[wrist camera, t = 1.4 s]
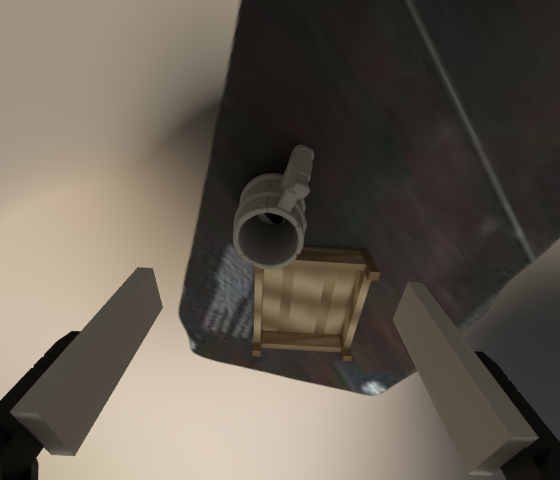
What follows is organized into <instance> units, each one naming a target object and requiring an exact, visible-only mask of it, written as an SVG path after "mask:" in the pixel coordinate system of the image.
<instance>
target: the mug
mask: <svg viewBox="0 0 560 480" xmlns="http://www.w3.org/2000/svg"><path fill="white" fill-rule="evenodd" d="M313 159H314V151H313V150H312V149H310V148H308V147H306V146H304V145H301V144H300V145H298V146H296V147H295V148H294V149H293V151H292V154H291V156H290V159H289V163H288V166H287V168H286V170H285V173H284V175H281V174H278V173H267V174H262V175H259V176H257V177H255V178H254V179H252V180H251V181H250V182H249V183H248V184H247V185H246V186H245V188H244V190H243V191H242V194H241V197H240V204H239V207H238V209H237V212H236V214H235V219H234V230H233V243H234V247H235V249H236V252H237V253H238V255H240V257H241V258H242V259H244V260H245V262H250V263H252V264H253V265H254V266H257V267H259V268H262V269H269V268H270V270H271V269H279V268H282V267H285V266H287V265H289V264H290V263H292V262H293V261H294V260H295V259H296V257H297V254H300V253H301V250H302V248H303V244H304V234H305V230H306V227H307V222H306V219H305V215H304V211H305V209H306V206H305V200H304V198H305V197H306V196H307V195H308V194H309V192H310V188H309V186H308V181H310V177H311V170H312V167H313V163H312V160H313ZM264 213H273V214H277V215H280V216H282V217H283V221H282V222H280V223H273V222H272V221H271V220H270V219H269V218H268V217H267V216H266V215H265V214H264ZM255 215H257V216H258V218H259V219H258V218H257V217H256V216H255Z"/></svg>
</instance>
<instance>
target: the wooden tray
mask: <svg viewBox="0 0 560 480" xmlns="http://www.w3.org/2000/svg"><path fill="white" fill-rule="evenodd" d="M254 273H255V298H254V344H253V356H261V348H276V349H293V350H311V351H328V352H341V356H342V360H343V361H351V358H352V354H351V351H350V345H351V342H352V339H353V336H354V333H355V330H356V326H357V323H358V320H359V317H360V314H361V311H362V308H363V305H364V301H365V298H366V295H367V292H368V289H369V286H370V283H371V280H376V281H378V278H379V275H380V271H379V270H378V268H377V266H376V264H375V263H374V261H373V259H372V257H371V255H370V254H369V252H368V250H355V249H340V248H324V247H309V246H303V248H302V250H301V253H300V254H297V257H296V259H295V260H294V261H293V262H292V263H290V264H289V265H287V266H285V267H282V268H279V269H271V270H270V268H269V269H262V268H259V267H257V266H254Z"/></svg>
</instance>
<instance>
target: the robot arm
mask: <svg viewBox="0 0 560 480" xmlns="http://www.w3.org/2000/svg"><path fill="white" fill-rule="evenodd" d="M162 308H163V306H162V302H161V299H160V295H159V291H158V287H157V283H156V279H155V275H154V271H153V268H139V267H138V268H137V269H136V270H135V271H134V272H133V273H132V275H131V276H130V277H129V278H128V279H127V280H126V281H125V282H124V283H123V285H122V286H121V287H120V288H119V289H118V290H117V291H116V292H115V294H114V295H113V296H112V297H111V298H110V299H109V300H108V301H107V303H106V304H105V305H104V306H103V307H102V308H101V309H100V310H99V312H98V313H97V314H96V315H95V316H94V317H93V319H92V320H91V321H90V322H89V323H88V324H87V325H86V326H85V327H84V329H83V330H82V331H80V332H79V331H71V332H70V333H69V334H67V335H65V336H64V337H62V338H61V339H60V340H58V341H57V342H56V343H55V344H54V345H53V346H52V347H51V348H50V349H49V350H48V351H47V352H46V353H45V354H44V357H42V358H40V360H38V362H37V363H36V364H35V365H34V367H33V368H31V369H30V370H29V371H28V372H27V373H26V374H25V375H24V376H23V377H22V378H21V380H19V382H18V383H17V384H16V385H15V386H14V387H13V388H12V389H11V390H10V391H9V392H8V393H7V394H6V395H5V396H4V397H3V398H2V399H1V400H0V480H38V461H37V458H36V457H37V456H38V455H39V453H40V451H41V450H42V449H43V447H44V448H45V449H46V450H47V451H48V452H49V453H50V454H51V455H65V456H75V455H76V453H77V451H78V449H79V448H80V446H81V444H82V443H83V441H84V439H85V438H86V436H87V434H88V433H89V431H90V429H91V428H92V426H93V424H94V423H95V421H96V419H97V418H98V416H99V414H100V412H101V411H102V409H103V407H104V406H105V404H106V402H107V401H108V399H109V397H110V396H111V394H112V392H113V390H114V389H115V387H116V386H117V384H118V382H119V380H120V379H121V377H122V375H123V374H124V372H125V370H126V369H127V367H128V365H129V364H130V362H131V360H132V359H133V357H134V355H135V353H136V352H137V350H138V348H139V346H140V345H141V343H142V342H143V340H144V338H145V337H146V335H147V333H148V332H149V330H150V328H151V326H152V325H153V323H154V321H155V320H156V318H157V316H158V315H159V313H160V311H161V310H162ZM393 322H394V324H395V326H396V328H397V330H398V332H399V334H400V336H401V338H402V340H403V342H404V344H405V346H406V348H407V350H408V352H409V354H410V356H411V358H412V360H413V362H414V365H415V367H416V369H417V371H418V372H419V374H420V377H421V379H422V381H423V383H424V385H425V387H426V389H427V391H428V393H429V395H430V397H431V399H432V401H433V403H434V405H435V407H436V409H437V411H438V414H439V416H440V417H441V420H442V422H443V424H444V426H445V427H446V430H447V432H448V434H449V436H450V438H451V440H452V442H453V444H454V446H455V448H456V450H457V452H458V454H459V456H460V458H461V460H462V462H463V464H464V467H465V469H466V471H467V473H468V474H469V475H492V474H493V473H495V472H496V471H497V470H498V469H500V468H501V470H502V472H503V473H504V475H505V477H506V480H560V442H559V440H558V439H557V438H556V437H555V436H554V435H553V433H552V432H551V431H550V430H549V429H548V427H547V426H546V425H545V423H544V422H543V421H542V420H541V418H540V417H539V416H538V415H537V413H536V412H535V411H534V410H533V408H532V407H531V406H530V405H529V404H528V402H527V401H526V400H525V399H524V397H523V396H522V395H521V393H520V392H517V388H516V387H515V386H514V385H513V384H512V382H511V381H510V380H508V378H507V376H506V375H505V374H504V373H503V371H502V370H501V369H500V367H499V366H498V365H497V364H496V363H495V362H494V361H492V360H491V359H490V358H489V357H488V356H487V355H486V354H484V353H483V352H476V351H473V350H472V348H471V347H470V346H469V344H468V343H467V342H466V340H465V339H464V338H463V336H462V335H461V334H460V332H459V331H458V330H457V328H456V327H455V326H454V324H453V323H452V322H451V320H450V319H449V318H448V316H447V315H446V314H445V312H444V311H443V310H442V308H441V307H440V306H439V304H438V303H437V302H436V300H435V299H434V298H433V296H432V295H431V294H430V292H429V291H428V290H427V288H426V287H425V286H424V284H423V283H411V282H408V283H407V286H406V288H405V291H404V293H403V295H402V298H401V300H400V303H399V305H398V308H397V310H396V313H395V315H394V318H393Z"/></svg>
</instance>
